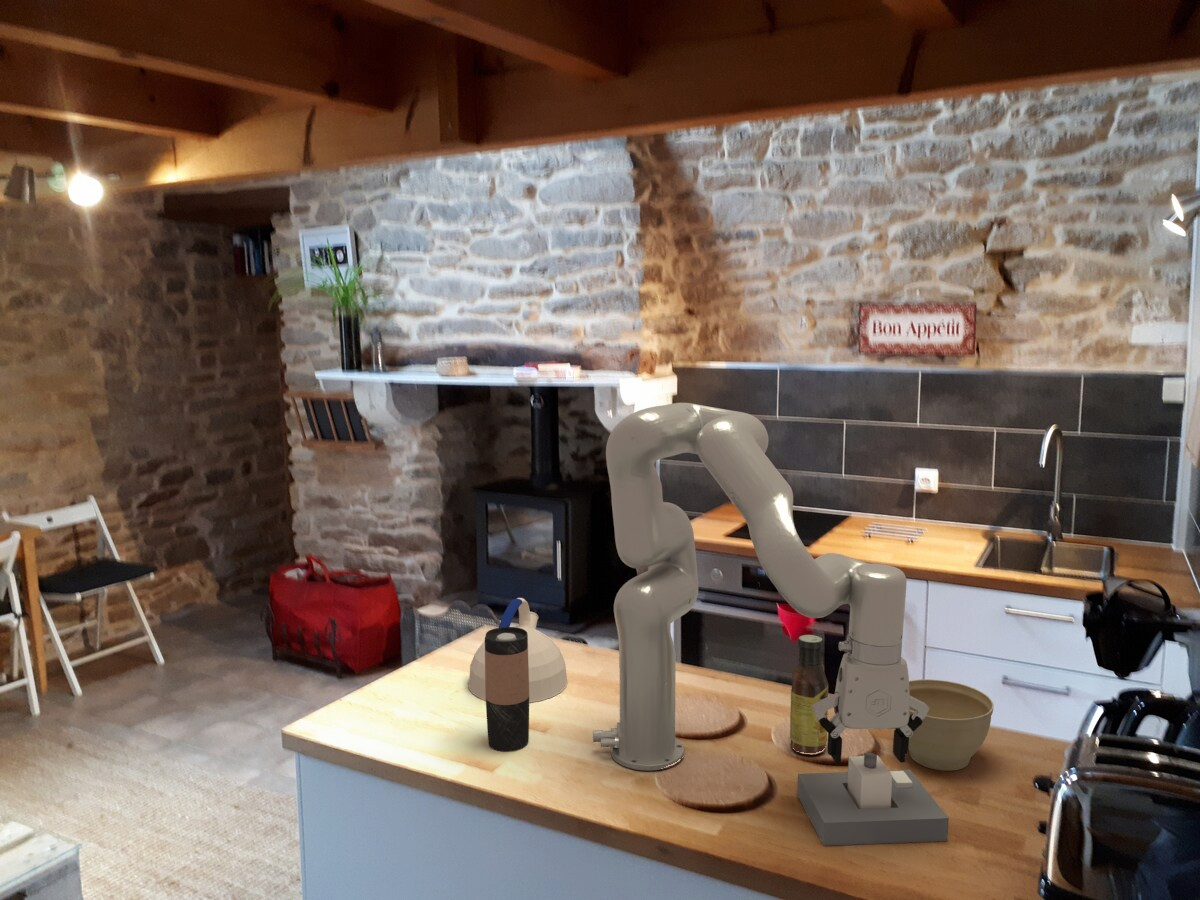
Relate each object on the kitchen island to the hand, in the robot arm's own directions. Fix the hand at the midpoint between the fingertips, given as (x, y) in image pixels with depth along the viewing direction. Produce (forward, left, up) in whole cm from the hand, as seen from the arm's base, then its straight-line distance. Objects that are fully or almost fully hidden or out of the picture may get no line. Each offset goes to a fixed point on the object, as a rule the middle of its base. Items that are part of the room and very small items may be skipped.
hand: (866, 758), depth 137 cm
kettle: (-53, +54, -10) cm, 76 cm away
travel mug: (-54, +28, -9) cm, 62 cm away
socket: (+1, 0, -9) cm, 9 cm away
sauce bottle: (-2, +22, -9) cm, 24 cm away
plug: (0, 0, -8) cm, 8 cm away
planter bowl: (+19, +17, -9) cm, 27 cm away
